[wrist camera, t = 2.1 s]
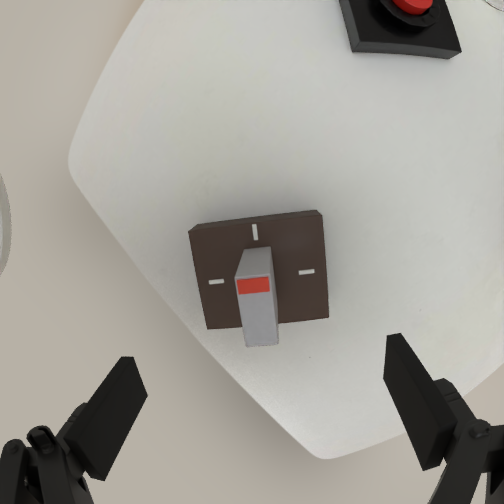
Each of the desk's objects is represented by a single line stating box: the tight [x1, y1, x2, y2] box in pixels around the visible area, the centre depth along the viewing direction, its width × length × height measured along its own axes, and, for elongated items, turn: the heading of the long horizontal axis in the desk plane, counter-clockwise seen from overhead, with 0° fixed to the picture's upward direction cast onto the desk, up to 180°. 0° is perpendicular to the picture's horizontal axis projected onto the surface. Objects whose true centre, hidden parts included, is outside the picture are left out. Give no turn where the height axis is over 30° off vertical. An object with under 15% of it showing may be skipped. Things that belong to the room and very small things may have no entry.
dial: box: [235, 246, 279, 347], centre depth 25 cm, size 6×2×8 cm, turn 8°
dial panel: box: [188, 210, 329, 329], centre depth 31 cm, size 12×10×4 cm
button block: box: [339, 0, 462, 59], centre depth 22 cm, size 12×10×5 cm
